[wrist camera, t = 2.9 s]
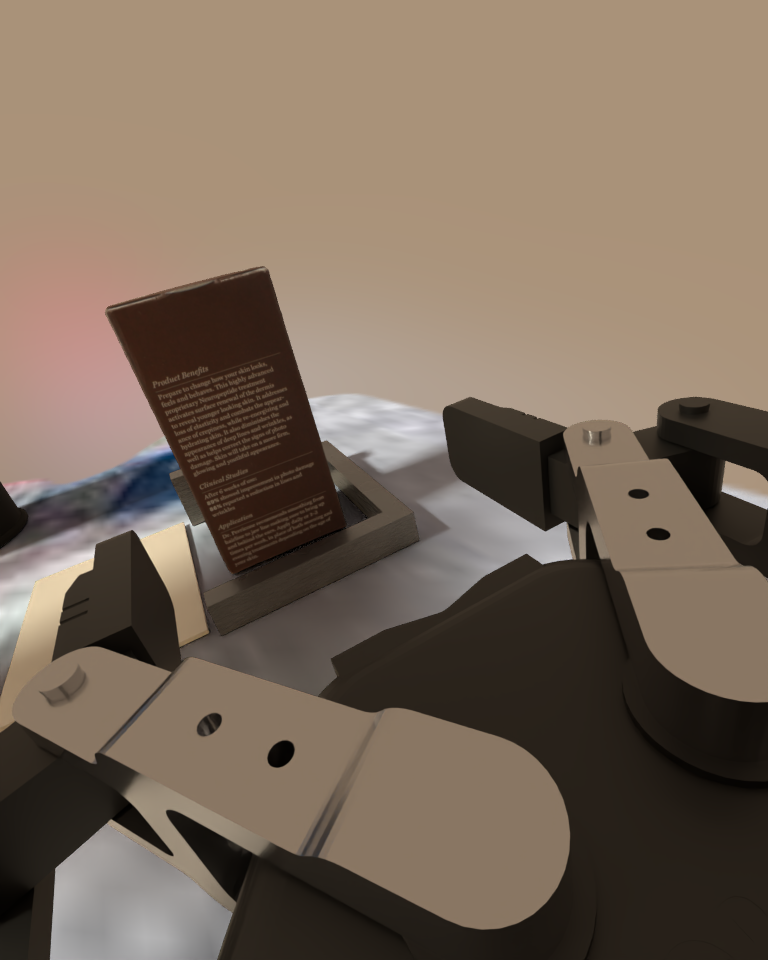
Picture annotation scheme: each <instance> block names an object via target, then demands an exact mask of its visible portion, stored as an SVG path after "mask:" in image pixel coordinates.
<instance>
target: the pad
mask: <svg viewBox="0 0 768 960" xmlns="http://www.w3.org/2000/svg"><path fill="white" fill-rule="evenodd" d="M140 541H141V542H142V544H143V546H144V548H145V550H146V551H147V553H148V555H149V557H150V559H151V560H152V562H153V564H154V566H155V568H156V570H157V571H158V573H159V575H160V577H161V579H162V580H163V582H164V584H165V586H166V588H167V590H168V592H169V595H170V597H171V600H172V603H173V606H174V611H175V618H176V626H177V633H178V640H179V647H181V646H183V645H185V644H187V643H189V642H191V641H194V640H196V639H198V638H200V637H202V636H204V635H206V634H208V633H209V629H208V625H207V621H206V616H205V612H204V607H203V603H202V599H201V594H200V590H199V585H198V581H197V577H196V572H195V568H194V563H193V559H192V555H191V550H190V546H189V541H188V537H187V533H186V528H185V524H184V522H182V523H180V524H177V525H175V526H172V527H170V528H167V529H165V530H162V531H160V532H157V533H155V534H152V535H150V536H147V537H145V538H142V539H140ZM93 564H94V558H93V559H90V560H88V561H85V562H83V563H80V564H78V565H75V566H73V567H70V568H68V569H65V570H63V571H60V572H58V573H55V574H53V575H50V576H48V577H45V578H43V579H40V580H38V581H36V582H35V585H34V588H33V591H32V595H31V598H30V601H29V605H28V608H27V611H26V615H25V618H24V621H23V624H22V628H21V631H20V634H19V638H18V641H17V644H16V648H15V651H14V654H13V657H12V661H11V664H10V667H9V671H8V674H7V677H6V681H5V684H4V687H3V690H2V694H1V697H0V732H2V731H3V730H5V729H6V728H7V727H9V726H10V725H11V724H12V723H13V722H15V720H14V718H13V716H12V708H13V704H14V701H15V699H16V697H17V696H18V694H19V692H20V691H21V690H22V688H23V687H24V686H25V685H26V684H27V682H28V681H29V680H30V679H31V678H32V677H33V676H35V675H36V674H37V673H38V672H39V671H40V670H42V669H43V668H44V667H46V666H47V665H48V664H50V663H51V661H52V656H53V651H54V646H55V641H56V636H57V631H58V626H59V625H60V623H59V622H60V617H61V612H63V610H62V607H63V602H64V597H65V593H66V592H67V590H68V589H69V588H70V586H71V585H72V584H73V582H74V581H75V580H76V578H77V577H78V576H79V575H81V574H83V573H86V572H88V571H90V570H93Z"/></svg>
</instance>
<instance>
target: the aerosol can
mask: <svg viewBox="0 0 768 960" xmlns="http://www.w3.org/2000/svg"><path fill="white" fill-rule="evenodd" d="M27 519H28V514H27V513H26V511H25V510H24V509H21V508H18V507H17V506H16V504H15V503H14V501H13V500H12V498H11V497H10V495H9V494H8V492H7V491H6V489H5V488H4V486H3V485H2V483H1V482H0V547H2V546H3V545H4V544H6V543H7V542H9V541H10V540H11V539H12V538H13V537H15V536H16V535H17V534H18V533H19V532H20V531H21V530H22V529H23V527H24V526H25V524H26V522H27Z"/></svg>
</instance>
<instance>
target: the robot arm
mask: <svg viewBox="0 0 768 960" xmlns="http://www.w3.org/2000/svg"><path fill="white" fill-rule="evenodd" d="M443 422H444V428H445V434H446V440H447V446H448V452H449V458H450V463H451V466H452V468H453V470H454V472H455V474H456V475H457V477H458V478H459V479H460V480H462V481H463V482H465V483H466V484H468V485H470V486H471V487H473V488H475V489H476V490H478V491H480V492H481V493H483V494H484V495H486V496H488V497H489V498H491V499H493V500H494V501H496V502H498V503H499V504H501V505H502V506H504V507H506V508H507V509H509V510H511V511H512V512H514V513H516V514H517V515H519V516H521V517H522V518H524V519H525V520H527V521H529V522H530V523H532V524H534V525H535V526H537V527H539V528H540V529H542V530H544V531H547V530H549V529H551V528H553V527H555V526H557V525H559V524H561V523H563V522H564V521H565V522H567V537H568V541H569V546H570V550H571V554H572V560H564V561H557V562H552V563H547V564H543V565H542V564H541V563H539V562H538V561H536V560H535V559H534V558H532V557H531V556H529V555H528V554H525V555H523V556H521V557H519V558H518V559H516V560H514V561H512V562H510V563H508V564H506V565H505V566H503V567H501V568H499V569H497V570H495V571H493V572H491V573H490V574H488V575H486V576H484V577H483V578H482V579H480V580H479V581H478V582H477V583H476V584H475V585H474V586H472V587H471V588H470V589H469V590H468V591H467V592H466V593H465V594H463V595H462V596H461V597H460V598H459V599H458V600H457V601H455V602H454V603H453V604H452V605H451V606H450V607H449V608H447V609H446V610H444V611H443V612H440V613H438V614H434V615H431V616H428V617H425V618H422V619H418V620H415V621H412V622H409V623H406V624H402V625H399V626H396V627H393V628H389V629H386V630H384V631H382V632H380V633H378V634H376V635H374V636H372V637H370V638H369V639H367V640H365V641H363V642H361V643H359V644H357V645H356V646H354V647H352V648H350V649H348V650H346V651H344V652H343V653H341V654H339V655H337V656H335V657H333V658H331V661H332V664H333V667H334V669H335V672H336V674H337V678H336V679H335V680H334V681H332V682H331V683H330V684H329V685H328V686H327V687H326V688H325V689H324V690H323V691H322V692H321V694H320V695H319V696H318V697H317V696H314V695H311V694H307V693H304V692H301V691H298V690H295V689H292V688H289V687H286V686H282V685H279V684H276V683H273V682H270V681H267V680H264V679H261V678H258V677H254V676H251V675H248V674H245V673H242V672H239V671H236V670H233V669H230V668H226V667H223V666H220V665H217V664H214V663H211V662H208V661H205V660H201V659H198V658H194V657H188V658H185V659H184V660H183V661H182V662H181V655H180V648H179V640H178V633H177V626H176V618H175V611H174V606H173V603H172V600H171V597H170V595H169V592H168V590H167V588H166V586H165V584H164V582H163V580H162V579H161V577H160V575H159V573H158V571H157V570H156V568H155V566H154V564H153V562H152V560H151V559H150V557H149V555H148V553H147V551H146V550H145V548H144V546H143V544H142V542H141V541H140V539H139V537H138V536H137V534H136V533H135V532H134V531H133V530H131V531H128V532H126V533H123V534H121V535H118V536H116V537H113V538H111V539H108V540H106V541H103V542H101V543H98V544H96V548H95V556H94V564H93V570H90V571H88V572H86V573H83V574H81V575H79V576H78V577H77V578H76V580H75V581H74V582H73V584H72V585H71V586H70V588H69V589H68V590H67V592H66V593H65V597H64V602H63V607H62V610H63V612H61V617H60V622H59V623H60V625H59V626H58V631H57V636H56V641H55V646H54V651H53V656H52V661H51V663H50V664H48V665H47V666H46V667H44V668H43V669H42V670H40V671H39V672H38V673H37V674H36V675H35V676H33V677H32V678H31V679H30V680H29V681H28V682H27V684H26V685H25V686H24V687H23V688H22V690H21V691H20V692H19V694H18V696H17V697H16V699H15V701H14V704H13V708H12V716H13V718H14V720H15V722H13V723H12V724H11V725H10V726H9V727H7V728H6V729H5V730H3V731H2V732H0V960H50V948H51V931H52V915H53V899H54V883H55V868H56V867H57V866H58V865H59V864H61V863H62V862H63V861H64V860H65V859H66V858H67V857H69V856H70V855H71V854H72V853H73V852H74V851H75V850H77V849H78V848H79V847H80V846H81V845H82V844H83V843H85V842H86V841H87V840H88V839H89V838H90V837H91V836H93V835H94V834H95V833H96V832H97V831H98V830H99V829H101V828H102V827H103V826H104V825H105V824H106V823H107V824H108V825H110V826H111V827H112V828H114V829H116V830H117V831H119V832H120V833H122V834H123V835H125V836H127V837H128V838H130V839H131V840H133V841H134V842H136V843H138V844H139V845H141V846H142V847H144V848H145V849H147V850H149V851H150V852H152V853H153V854H155V855H156V856H158V857H159V858H161V859H163V860H164V861H166V862H167V863H169V864H170V865H172V866H174V867H175V868H177V869H178V870H180V871H181V872H183V873H184V874H186V875H187V876H188V877H189V878H191V879H192V880H193V881H194V882H195V883H197V884H198V885H199V886H200V887H201V888H202V889H203V890H204V891H205V892H206V893H207V894H209V895H210V896H211V897H212V898H213V899H215V900H216V901H217V902H218V903H220V904H221V905H222V906H224V907H225V908H226V909H228V910H229V911H231V912H232V913H233V914H232V917H231V920H230V923H229V926H228V929H227V932H226V935H225V938H224V941H223V944H222V947H221V950H220V953H219V956H218V959H217V960H768V581H767V580H766V579H765V577H766V578H768V510H766V509H764V508H761V507H759V506H756V505H754V504H751V503H749V502H746V501H744V500H741V499H739V498H736V497H734V496H731V495H729V494H726V493H724V492H721V490H722V483H723V475H724V468H725V461H728V462H731V463H734V464H737V465H740V466H743V467H746V468H749V469H751V470H754V471H757V472H759V473H760V474H761V475H763V476H764V477H765V478H766V480H767V481H768V412H767V411H763V410H759V409H754V408H750V407H746V406H742V405H737V404H733V403H729V402H725V401H721V400H716V399H711V398H702V397H689V398H680V399H675V400H671V401H668V402H666V403H664V404H662V405H661V406H660V407H659V408H658V415H657V426H655V427H651V428H647V429H643V430H639V431H635V432H632V430H631V429H630V427H628V426H627V425H625V424H623V423H620V422H616V421H610V420H591V421H585V422H580V423H577V424H574V425H572V426H570V427H568V428H567V427H564V426H561V425H558V424H555V423H552V422H550V421H547V420H544V419H541V418H539V419H537V417H535V416H532V415H529V414H527V415H526V414H525V413H523V412H520V411H517V410H514V409H511V408H502V407H498V406H495V405H492V404H489V403H486V402H483V401H481V400H478V399H475V398H472V397H469V398H466V399H464V400H461V401H459V402H456V403H454V404H451V405H449V406H446V407H445V408H444V410H443ZM740 564H741V565H740ZM742 565H743V566H742Z"/></svg>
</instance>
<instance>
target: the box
mask: <svg viewBox="0 0 768 960" xmlns="http://www.w3.org/2000/svg"><path fill="white" fill-rule="evenodd" d="M105 315H106V316H107V318H108V320H109V322H110V324H111V326H112V328H113V330H114V332H115V334H116V336H117V338H118V341H119V343H120V345H121V346H122V348H123V351H124V353H125V355H126V357H127V359H128V361H129V363H130V365H131V367H132V369H133V371H134V373H135V375H136V377H137V379H138V382H139V384H140V386H141V388H142V390H143V392H144V394H145V396H146V398H147V400H148V402H149V404H150V407H151V409H152V411H153V413H154V414H155V416H156V419H157V421H158V423H159V425H160V428H161V429H162V431H163V433H164V435H165V437H166V439H167V442H168V444H169V446H170V448H171V450H172V452H173V454H174V456H175V458H176V460H177V462H178V464H179V467H180V469H181V471H182V473H183V475H184V477H185V479H186V481H187V483H188V485H189V488H190V490H191V492H192V494H193V496H194V498H195V500H196V502H197V505H198V507H199V509H200V511H201V513H202V515H203V517H204V520H205V522H206V524H207V526H208V528H209V530H210V532H211V534H212V536H213V538H214V541H215V543H216V545H217V548H218V550H219V552H220V554H221V556H222V558H223V560H224V562H225V564H226V566H227V568H228V570H229V571H230V572H231V573H232V574H235V573H237V572H240V571H241V570H244V569H246V568H248V567H250V566H253V565H255V564H257V563H260V562H262V561H264V560H267V559H269V558H271V557H274V556H276V555H279V554H281V553H283V552H285V551H288V550H290V549H292V548H295V547H297V546H299V545H302V544H304V543H307V542H309V541H311V540H313V539H316V538H318V537H321V536H323V535H325V534H328V533H330V532H333V531H335V530H338V529H341V528H343V527H346V526H347V524H346V521H345V518H344V515H343V512H342V509H341V506H340V502H339V499H338V495H337V492H336V489H335V485H334V482H333V479H332V476H331V472H330V469H329V466H328V462H327V459H326V456H325V453H324V449H323V446H322V443H321V440H320V437H319V433H318V430H317V427H316V424H315V420H314V417H313V414H312V411H311V408H310V405H309V401H308V398H307V395H306V391H305V388H304V385H303V382H302V379H301V376H300V373H299V370H298V366H297V363H296V360H295V357H294V354H293V350H292V347H291V344H290V340H289V337H288V334H287V331H286V328H285V324H284V321H283V317H282V313H281V311H280V308H279V305H278V301H277V297H276V294H275V290H274V287H273V284H272V281H271V278H270V274H269V271H268V269H267V268H266V267H263V266H262V267H256V268H250V269H247V270H242V271H238V272H234V273H230V274H225V275H221V276H218V277H214V278H210V279H206V280H202V281H198V282H194V283H190V284H187V285H183V286H179V287H175V288H172V289H168V290H164V291H160V292H157V293H153V294H150V295H146V296H143V297H139V298H135V299H132V300H129V301H125V302H121V303H118V304H114V305H112V306H109V307H107V308H106V311H105Z"/></svg>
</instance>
